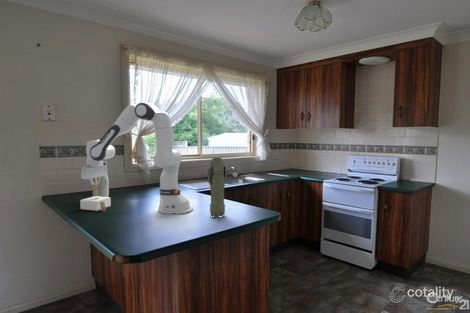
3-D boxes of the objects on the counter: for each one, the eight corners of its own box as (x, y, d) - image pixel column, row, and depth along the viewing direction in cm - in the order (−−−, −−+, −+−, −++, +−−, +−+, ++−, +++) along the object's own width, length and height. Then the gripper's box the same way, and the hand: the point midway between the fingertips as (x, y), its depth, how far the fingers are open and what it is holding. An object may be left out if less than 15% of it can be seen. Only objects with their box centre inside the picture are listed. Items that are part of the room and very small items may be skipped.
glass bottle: (91, 201, 213) (89, 163, 211) (100, 198, 223) (99, 162, 221) (102, 202, 210) (101, 164, 208) (111, 199, 220) (110, 162, 218)
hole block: (110, 205, 201) (110, 197, 200) (96, 210, 188) (96, 201, 188) (95, 204, 204) (94, 196, 204) (80, 209, 192) (80, 200, 191)
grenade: (205, 216, 174) (204, 158, 172) (220, 212, 182) (220, 157, 180) (214, 219, 168) (213, 159, 165) (229, 215, 176) (229, 157, 173)
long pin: (98, 195, 197) (98, 174, 196) (95, 196, 194) (94, 175, 193) (95, 194, 198) (94, 174, 197) (91, 195, 195) (91, 175, 194)
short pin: (106, 210, 188) (106, 201, 188) (103, 211, 186) (103, 202, 185) (102, 210, 189) (102, 201, 189) (99, 211, 186) (99, 202, 186)
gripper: (86, 165, 183) (87, 187, 184) (108, 162, 203) (109, 182, 204) (78, 165, 185) (78, 186, 186) (101, 162, 205) (101, 181, 206)
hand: (95, 184), depth 195 cm, fingers closed on long pin, 3 cm apart
